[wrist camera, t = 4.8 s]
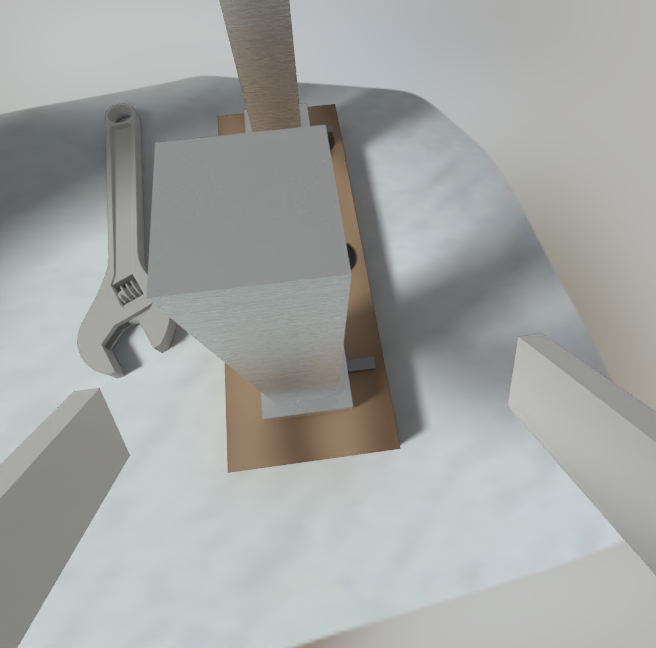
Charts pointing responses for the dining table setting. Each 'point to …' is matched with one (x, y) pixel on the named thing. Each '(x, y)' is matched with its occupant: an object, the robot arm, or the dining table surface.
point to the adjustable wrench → (123, 254)
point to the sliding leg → (257, 262)
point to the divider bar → (359, 342)
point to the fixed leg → (265, 64)
